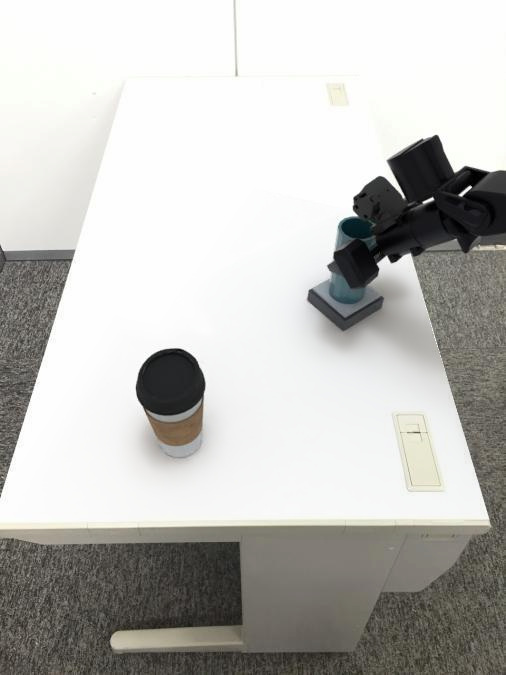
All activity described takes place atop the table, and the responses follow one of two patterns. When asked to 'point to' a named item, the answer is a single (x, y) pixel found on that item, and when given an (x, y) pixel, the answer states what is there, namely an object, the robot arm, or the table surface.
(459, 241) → the robot arm
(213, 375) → the table surface
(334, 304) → the scale
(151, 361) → the coffee cup
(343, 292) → the tumbler
